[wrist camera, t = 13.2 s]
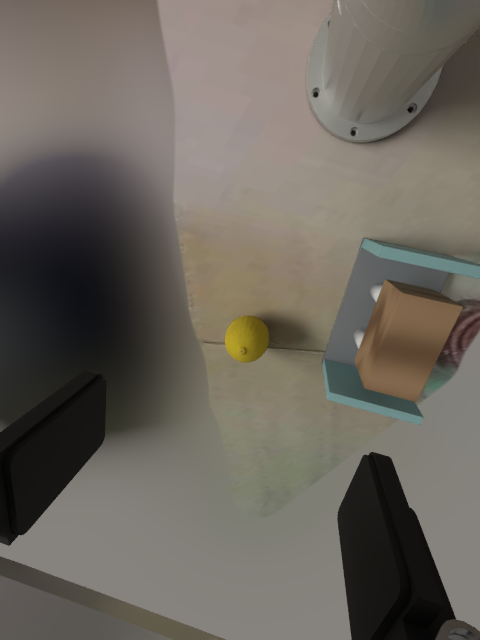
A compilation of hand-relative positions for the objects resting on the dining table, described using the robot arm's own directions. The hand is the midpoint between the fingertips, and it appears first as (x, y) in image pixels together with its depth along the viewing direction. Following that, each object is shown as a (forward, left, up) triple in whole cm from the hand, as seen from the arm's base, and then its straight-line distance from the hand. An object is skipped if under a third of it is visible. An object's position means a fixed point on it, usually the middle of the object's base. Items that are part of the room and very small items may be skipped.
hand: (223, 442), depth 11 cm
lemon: (+8, -2, -31) cm, 32 cm away
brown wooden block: (+2, +14, -25) cm, 29 cm away
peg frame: (+2, +14, -30) cm, 33 cm away
